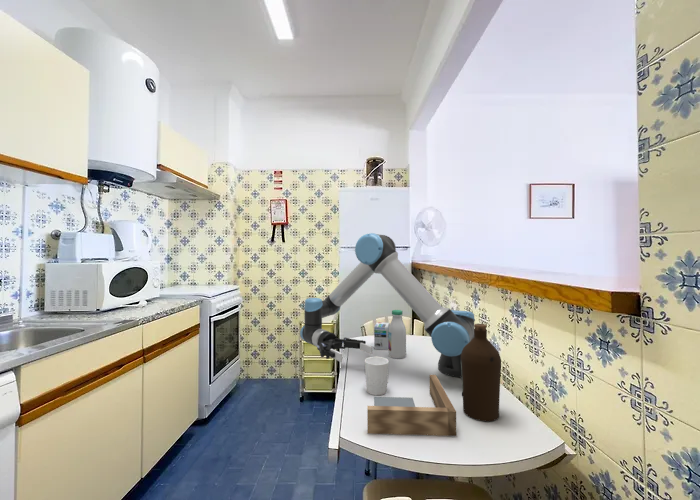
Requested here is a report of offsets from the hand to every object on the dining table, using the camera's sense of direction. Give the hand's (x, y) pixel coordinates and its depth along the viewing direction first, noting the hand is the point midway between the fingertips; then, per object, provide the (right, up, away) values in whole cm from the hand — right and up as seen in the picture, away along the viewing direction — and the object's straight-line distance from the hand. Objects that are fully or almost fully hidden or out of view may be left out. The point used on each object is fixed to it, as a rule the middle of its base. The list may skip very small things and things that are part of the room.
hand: (357, 354), depth 113 cm
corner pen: (+14, -9, -22) cm, 27 cm away
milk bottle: (+18, -10, +27) cm, 34 cm away
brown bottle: (+34, -9, -23) cm, 42 cm away
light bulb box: (+13, -10, +42) cm, 45 cm away
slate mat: (+11, -9, -19) cm, 24 cm away
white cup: (+6, -10, -8) cm, 14 cm away
